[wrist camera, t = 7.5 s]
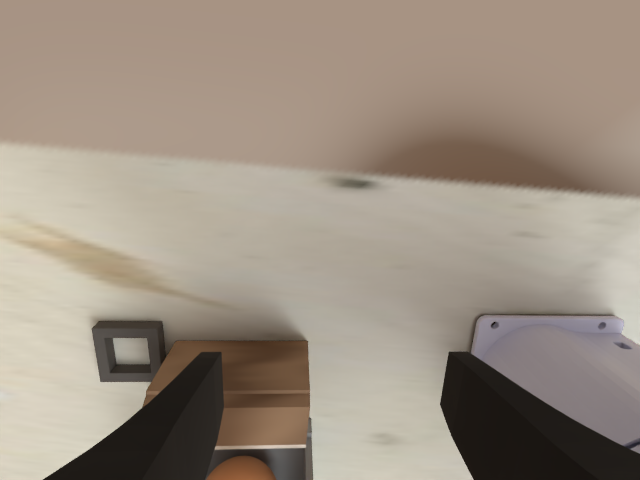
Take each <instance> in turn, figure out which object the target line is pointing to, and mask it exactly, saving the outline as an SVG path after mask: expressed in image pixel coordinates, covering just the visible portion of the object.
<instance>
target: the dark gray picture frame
mask: <svg viewBox="0 0 640 480" xmlns="http://www.w3.org/2000/svg"><path fill="white" fill-rule="evenodd" d="M92 333H93V339H94V345H95V351H96V357H97V363H98V369H99V376H100V382H152V380H153V379H154V377H155V375H156V374H157V372H158V370H159V369H160V367H161V365H162V363H163V362H164V360H165V358H166V355H165V345H164V335H163V325H162V322H131V321H99V322H98V323H97V324H96V325H95V326H94V327H93V328H92ZM112 338H147V340H148V348H149V357H150V365H116V359H115V352H114V346H113V339H112Z"/></svg>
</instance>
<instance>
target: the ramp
mask: <svg viewBox="0 0 640 480" xmlns="http://www.w3.org/2000/svg"><path fill="white" fill-rule="evenodd" d="M201 352H222V373H223V394H224V410H223V415H222V420H221V425H220V430H219V435H218V440H217V443H216V447H215V450H222V449H274V448H306V439H307V430H308V420H309V410H310V384H309V362H308V341H175V343H174V345H173V347H172V348H171V350H170V352H169V353H168V355H167V357H166V358H165V360H164V362H163V363H162V365H161V367H160V369H159V370H158V372H157V374H156V375H155V377H154V379H153V380H152V382H151V384H150V386H149V387H148V389H147V391H146V398H145V401H144V404H143V407H144V406H145V405H146V404H148V403H149V402H150V401H151V400H152V399H153V398H154V397H155V396H156V395H157V394H159V393H160V392H161V391H162V390H163V389H164V388H165V387H166V386H167V385H168V384H169V383H170V382H171V381H172V380H173V379H174V378H175V377H176V376H177V375H178V374H179V373H180V372H181V371H182V370H183V369H184V368H185V367H186V366H187V365H188V364H189V363H190V362H191V361H192V360H193V359H194V358H195V357H196V356H198V355H199V354H200V353H201ZM143 407H142V408H143Z"/></svg>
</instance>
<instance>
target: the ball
mask: <svg viewBox="0 0 640 480" xmlns="http://www.w3.org/2000/svg"><path fill="white" fill-rule="evenodd" d="M206 480H276V477H275V476H274V474H273V472H272V471H271V469H270V468H269V467H268V466H267V465H266V464H265V463H264V462H263V461H261V460H259V459H257V458H255V457H252V456H236V457H232V458H230V459H227V460H226V461H224V462H222V463H221V464H219V465H218V466H217V467H216V468H215V469H214V470H213V471H212V472H211V473H210V474H209V476H208V477H207V479H206Z"/></svg>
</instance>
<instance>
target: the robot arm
mask: <svg viewBox="0 0 640 480" xmlns="http://www.w3.org/2000/svg"><path fill="white" fill-rule="evenodd" d="M493 322H496V323H495V324H494V325H493V326H491V324H492V323H493ZM600 323H601V324H600ZM599 324H600V325H599ZM598 325H599V326H598ZM623 327H624V321H623V320H622V319H620V318H619V317H616V316H522V315H484V316H481V317H480V318H479V319H478V320H477V323H476V328H475V334H474V339H473V344H472V350H471V353H469V352H449V354H448V360H447V366H446V372H445V378H444V384H443V390H442V396H441V402H440V405H441V408H442V411H443V414H444V417H445V420H446V423H447V425H448V428H449V430H450V433H451V436H452V438H453V440H454V442H455V444H456V446H457V448H458V450H459V452H460V454H461V456H462V458H463V460H464V462H465V464H466V466H467V468H468V469H469V471H470V473H471V475H472V477H473V479H474V480H640V345H638V344H636V343H635V342H633V341H632V340H630V339H628V338H627V337H625V336H624V335H622V334H621V333H622V330H623ZM223 410H224V394H223V373H222V352H201V353H200V354H199V355H198V356H196V357H195V358H194V359H193V360H192V361H191V362H190V363H189V364H188V365H187V366H186V367H185V368H184V369H183V370H182V371H181V372H180V373H179V374H178V375H177V376H176V377H175V378H174V379H173V380H172V381H171V382H170V383H169V384H168V385H167V386H166V387H165V388H164V389H163V390H162V391H161V392H160V393H159V394H157V395H156V396H155V397H154V398H153V399H152V400H151V401H150V402H149V403H148V404H146V405H145V406H144V407H143V408H142V409H141V410H139V411H138V412H137V413H136V414H135V415H134V416H132V417H131V418H130V419H129V420H128V421H127V422H125V423H124V424H123V425H122V426H120V427H119V428H118V429H116V430H115V431H114V432H112V433H111V434H110V435H108V436H107V437H106V438H104V439H103V440H102V441H100V442H99V443H98V444H96V445H95V446H93V447H92V448H91V449H89V450H88V451H86V452H85V453H83V454H82V455H80V456H79V457H77V458H76V459H74V460H73V461H71V462H69V463H68V464H66V465H65V466H63V467H62V468H60V469H59V470H57V471H56V472H54V473H53V474H51V475H49V476H48V477H46V478H45V479H43V480H205V478H206V475H207V472H208V469H209V466H210V462H211V459H212V456H213V453H214V450H215V447H216V443H217V440H218V435H219V430H220V425H221V420H222V415H223Z"/></svg>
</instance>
